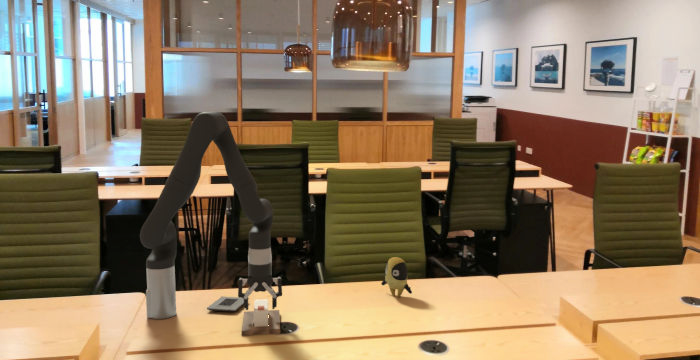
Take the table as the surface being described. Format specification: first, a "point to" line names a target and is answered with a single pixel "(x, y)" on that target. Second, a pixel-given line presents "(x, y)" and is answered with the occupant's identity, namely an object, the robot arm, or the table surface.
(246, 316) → the brown wooden slotted board
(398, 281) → the figurine
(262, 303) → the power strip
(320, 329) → the table surface
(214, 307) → the electrical outlet
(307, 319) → the table surface
